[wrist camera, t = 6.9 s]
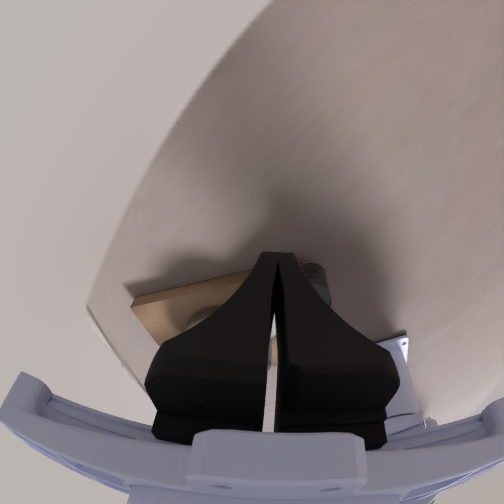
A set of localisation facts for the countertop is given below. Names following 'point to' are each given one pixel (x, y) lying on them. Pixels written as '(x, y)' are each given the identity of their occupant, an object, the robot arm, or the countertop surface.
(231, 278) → the wooden board
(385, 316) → the countertop surface
